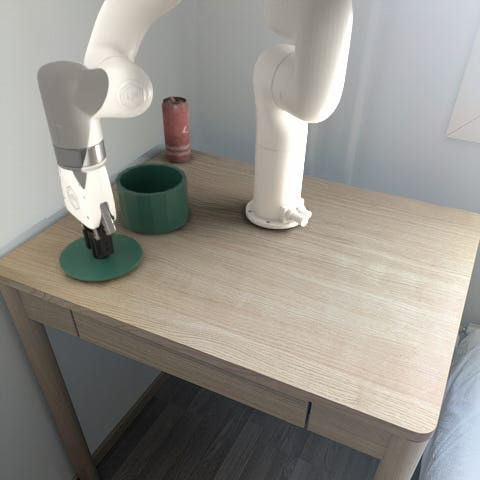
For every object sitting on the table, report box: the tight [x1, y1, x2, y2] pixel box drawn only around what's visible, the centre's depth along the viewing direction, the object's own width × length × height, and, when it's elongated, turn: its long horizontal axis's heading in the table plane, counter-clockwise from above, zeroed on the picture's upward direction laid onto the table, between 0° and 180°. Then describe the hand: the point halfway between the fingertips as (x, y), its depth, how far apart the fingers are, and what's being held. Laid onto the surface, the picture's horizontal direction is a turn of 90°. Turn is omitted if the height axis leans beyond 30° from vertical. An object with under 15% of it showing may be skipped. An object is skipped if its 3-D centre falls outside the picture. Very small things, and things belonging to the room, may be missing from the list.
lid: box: [59, 225, 143, 282], centre depth 88 cm, size 15×15×7 cm
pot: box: [114, 162, 190, 235], centre depth 99 cm, size 14×14×8 cm
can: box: [161, 96, 192, 164], centre depth 118 cm, size 6×6×14 cm
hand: (100, 249), depth 88 cm, fingers closed on lid, 3 cm apart
